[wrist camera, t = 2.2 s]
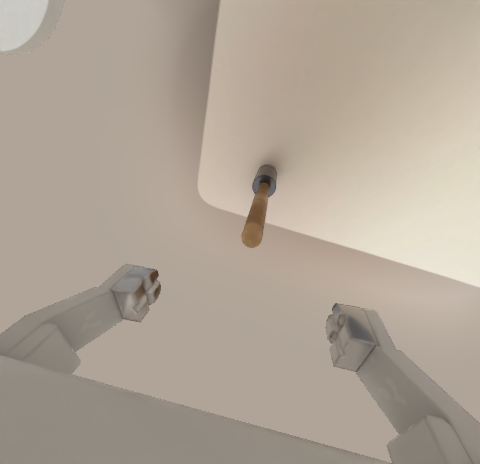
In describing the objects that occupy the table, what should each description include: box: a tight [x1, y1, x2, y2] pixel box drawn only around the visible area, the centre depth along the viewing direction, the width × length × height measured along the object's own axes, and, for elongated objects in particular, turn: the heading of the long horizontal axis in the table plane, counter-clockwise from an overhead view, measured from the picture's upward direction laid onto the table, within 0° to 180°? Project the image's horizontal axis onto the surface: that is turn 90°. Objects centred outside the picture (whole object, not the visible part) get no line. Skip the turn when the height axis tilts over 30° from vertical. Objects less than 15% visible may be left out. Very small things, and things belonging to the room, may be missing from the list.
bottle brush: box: [242, 165, 277, 248], centre depth 20 cm, size 3×3×18 cm
